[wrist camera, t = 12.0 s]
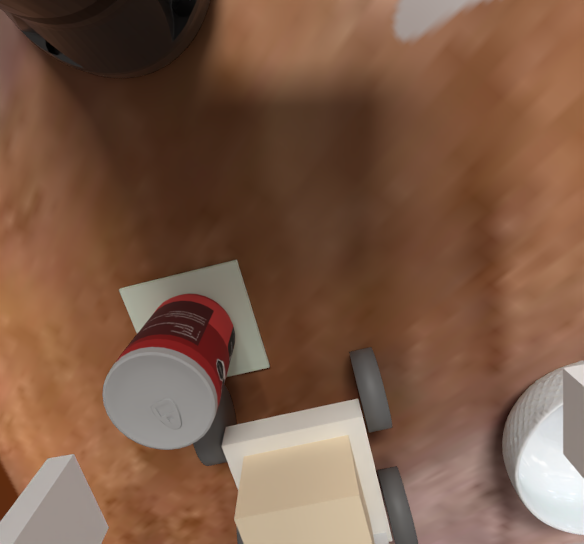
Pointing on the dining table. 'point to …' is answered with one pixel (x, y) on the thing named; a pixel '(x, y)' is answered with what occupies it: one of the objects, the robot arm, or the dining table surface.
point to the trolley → (313, 470)
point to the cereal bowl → (543, 456)
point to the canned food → (172, 374)
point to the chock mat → (217, 286)
